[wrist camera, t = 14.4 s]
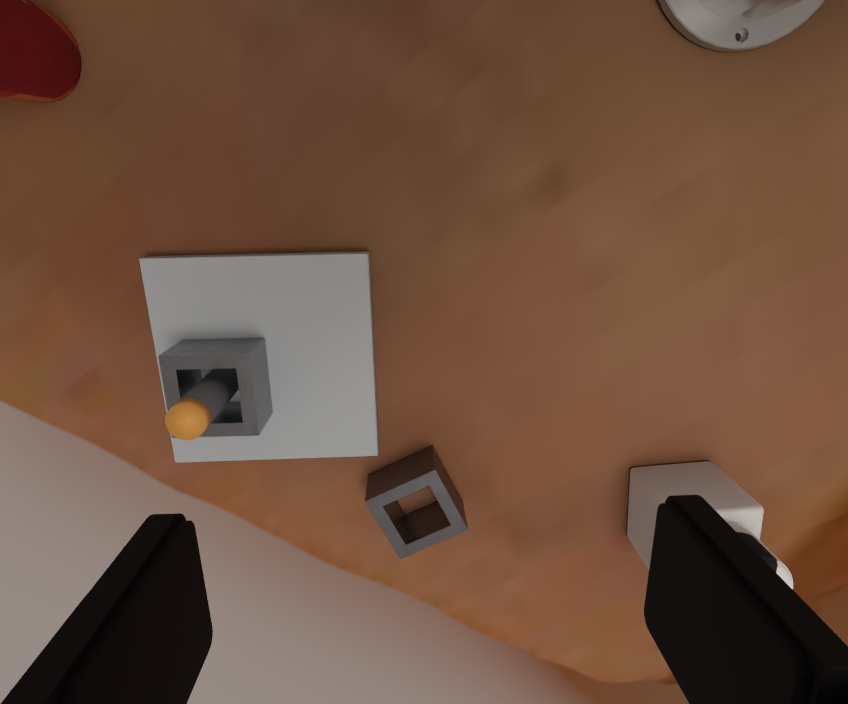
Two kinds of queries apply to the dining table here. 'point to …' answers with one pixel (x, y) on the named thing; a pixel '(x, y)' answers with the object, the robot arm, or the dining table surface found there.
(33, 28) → the paper cup
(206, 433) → the link
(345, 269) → the keeper
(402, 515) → the link
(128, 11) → the dining table surface
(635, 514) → the medicine bottle
